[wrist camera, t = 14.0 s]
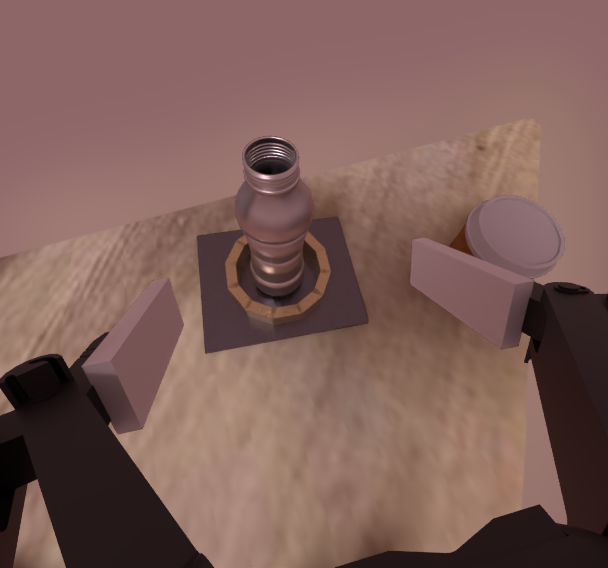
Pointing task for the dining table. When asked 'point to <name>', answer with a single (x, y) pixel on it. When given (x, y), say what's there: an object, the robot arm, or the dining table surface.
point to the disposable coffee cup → (513, 236)
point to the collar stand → (276, 309)
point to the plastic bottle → (274, 214)
